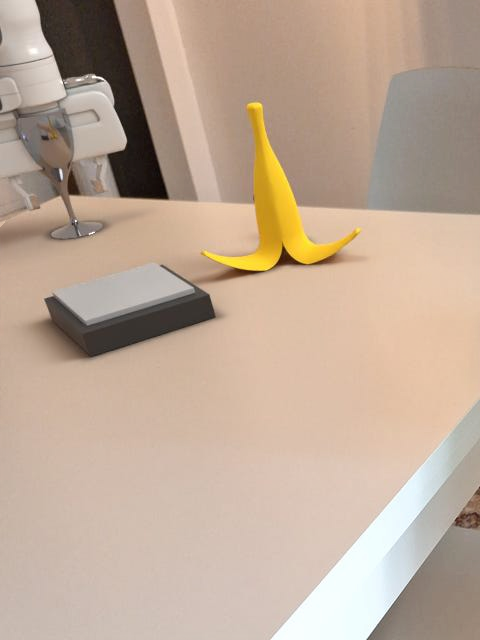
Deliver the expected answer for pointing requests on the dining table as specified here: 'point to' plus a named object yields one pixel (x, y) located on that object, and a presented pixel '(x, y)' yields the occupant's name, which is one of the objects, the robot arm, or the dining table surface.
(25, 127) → the wine glass
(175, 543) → the dining table surface
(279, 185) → the banana peel
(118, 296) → the scale
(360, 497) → the dining table surface
